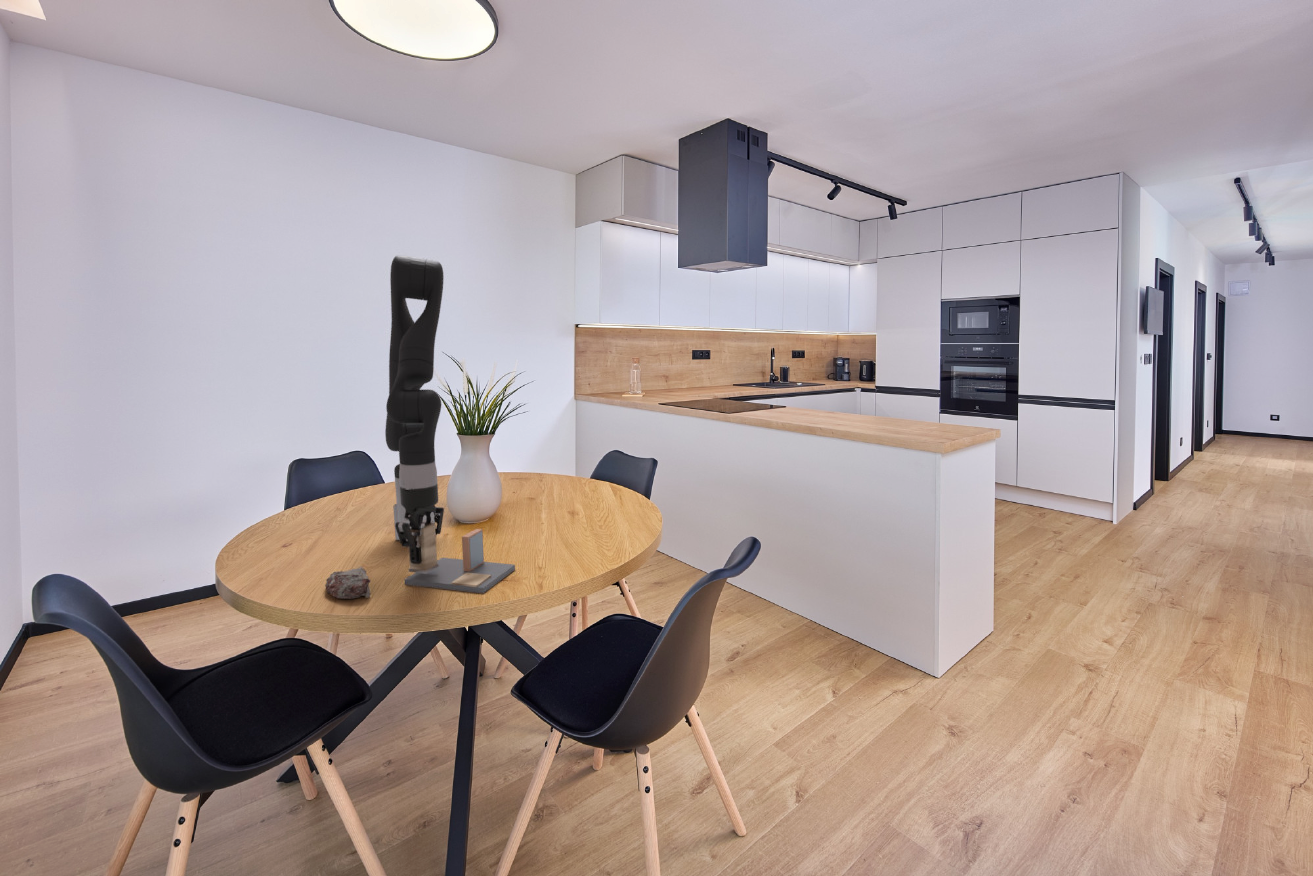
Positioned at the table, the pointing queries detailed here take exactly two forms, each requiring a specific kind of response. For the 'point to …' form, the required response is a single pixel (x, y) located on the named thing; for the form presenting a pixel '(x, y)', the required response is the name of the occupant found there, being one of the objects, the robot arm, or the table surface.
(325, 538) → the table surface
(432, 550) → the block
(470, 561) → the tile
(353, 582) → the mineral rock
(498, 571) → the slate board
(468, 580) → the cork pad
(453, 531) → the table surface
